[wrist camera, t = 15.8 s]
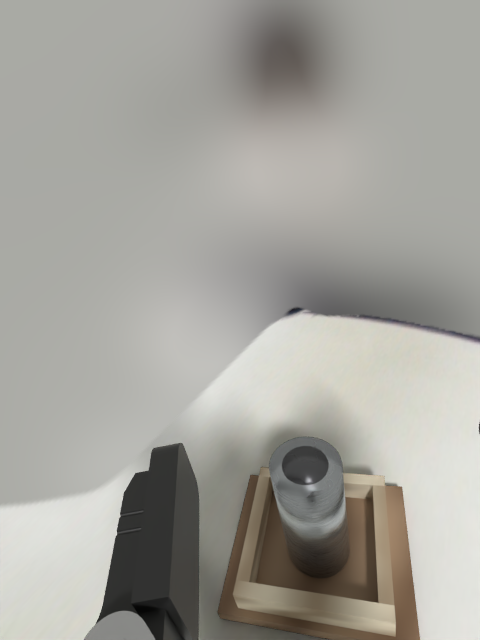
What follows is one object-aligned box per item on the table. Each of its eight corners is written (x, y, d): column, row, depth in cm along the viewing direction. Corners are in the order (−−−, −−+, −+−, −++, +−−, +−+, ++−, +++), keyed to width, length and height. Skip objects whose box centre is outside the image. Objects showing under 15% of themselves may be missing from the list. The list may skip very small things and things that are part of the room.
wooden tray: (220, 618, 30) (211, 598, 29) (252, 481, 40) (246, 461, 38) (420, 657, 26) (422, 636, 25) (401, 493, 36) (402, 472, 34)
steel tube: (283, 573, 31) (262, 493, 26) (291, 513, 35) (275, 434, 30) (349, 583, 30) (341, 500, 25) (350, 519, 34) (342, 437, 29)
